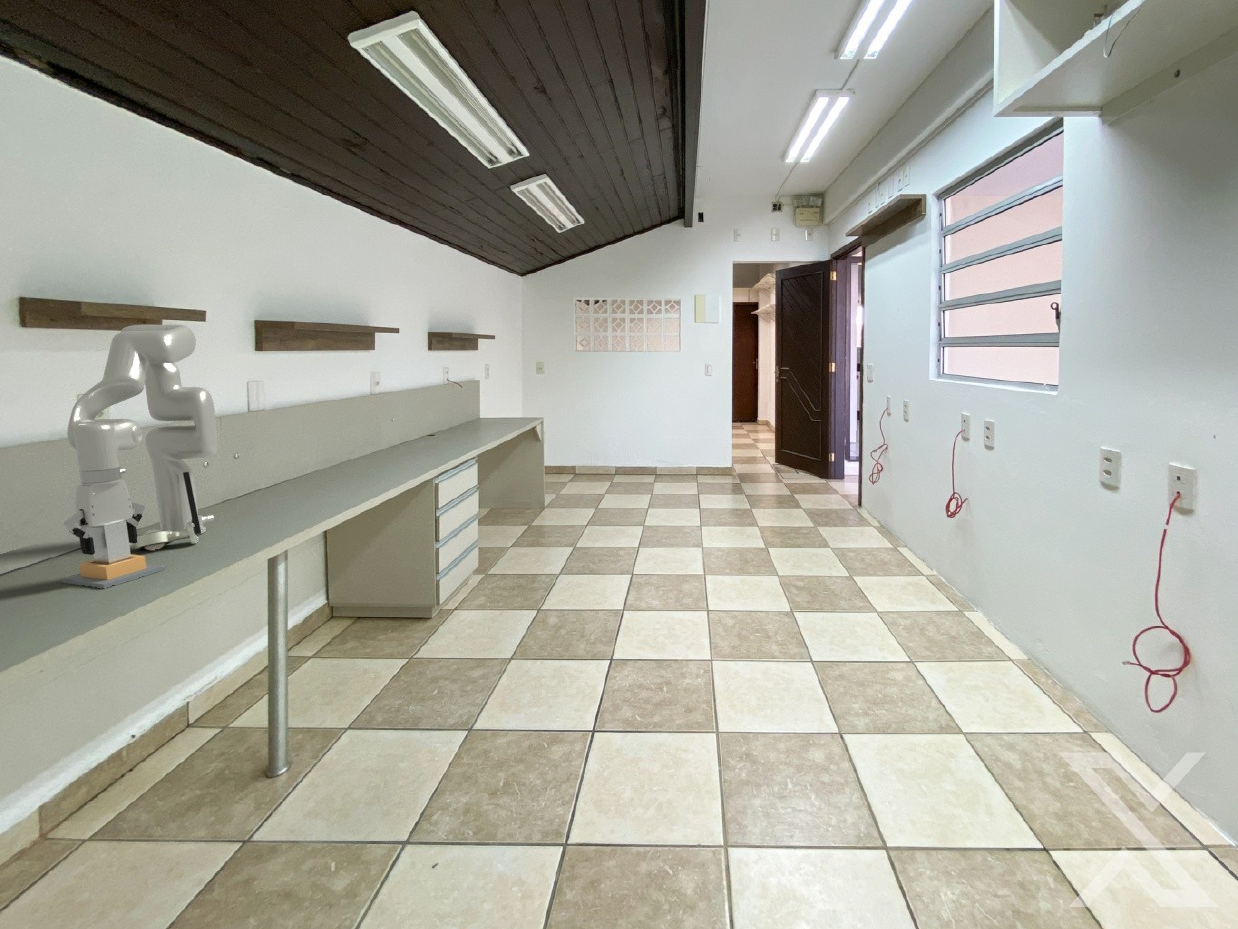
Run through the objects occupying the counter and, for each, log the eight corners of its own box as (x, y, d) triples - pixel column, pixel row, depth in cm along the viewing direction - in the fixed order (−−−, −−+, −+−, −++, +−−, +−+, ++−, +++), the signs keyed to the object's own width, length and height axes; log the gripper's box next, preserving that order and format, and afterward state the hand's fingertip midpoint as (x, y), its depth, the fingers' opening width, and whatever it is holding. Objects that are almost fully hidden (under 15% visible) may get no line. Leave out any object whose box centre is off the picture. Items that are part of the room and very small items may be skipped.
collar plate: (124, 564, 169) (122, 549, 168) (164, 570, 164) (162, 554, 164) (62, 582, 156) (59, 565, 155) (104, 588, 151) (101, 571, 151)
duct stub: (117, 567, 163) (111, 518, 161) (132, 569, 161) (125, 519, 159) (96, 574, 158) (88, 523, 156) (111, 576, 157) (103, 524, 155)
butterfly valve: (124, 556, 175) (201, 540, 183) (110, 481, 177) (187, 469, 185) (131, 558, 183) (205, 543, 191) (117, 486, 185) (191, 474, 193)
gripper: (127, 469, 165) (136, 537, 168) (48, 482, 149) (59, 557, 152) (149, 471, 163) (158, 540, 166) (70, 484, 147) (82, 560, 150)
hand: (110, 548), depth 159 cm, fingers open, 9 cm apart
